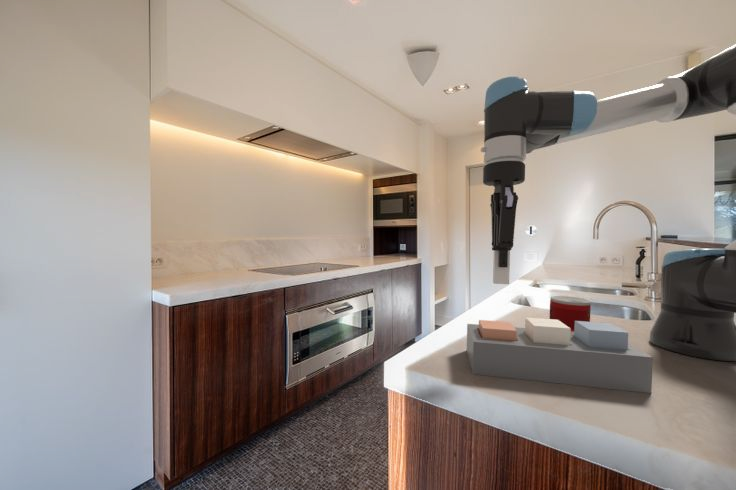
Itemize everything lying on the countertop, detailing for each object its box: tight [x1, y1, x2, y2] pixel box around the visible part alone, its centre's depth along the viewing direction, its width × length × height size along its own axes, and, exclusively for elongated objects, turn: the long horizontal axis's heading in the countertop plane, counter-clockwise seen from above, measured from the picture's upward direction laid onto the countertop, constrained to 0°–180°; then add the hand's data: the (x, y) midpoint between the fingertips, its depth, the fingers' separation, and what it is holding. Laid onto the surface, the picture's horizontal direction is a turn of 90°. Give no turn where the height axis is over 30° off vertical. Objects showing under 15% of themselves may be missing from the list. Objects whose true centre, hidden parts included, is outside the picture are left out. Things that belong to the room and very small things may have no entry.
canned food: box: [549, 295, 591, 332], centre depth 73 cm, size 8×8×11 cm
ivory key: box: [524, 317, 571, 345], centre depth 59 cm, size 6×6×5 cm
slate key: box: [574, 321, 629, 350], centre depth 57 cm, size 6×6×5 cm
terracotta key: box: [478, 319, 517, 341], centre depth 61 cm, size 6×6×5 cm
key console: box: [466, 323, 654, 394], centre depth 59 cm, size 28×12×6 cm, turn 77°
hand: (500, 283), depth 61 cm, fingers closed
